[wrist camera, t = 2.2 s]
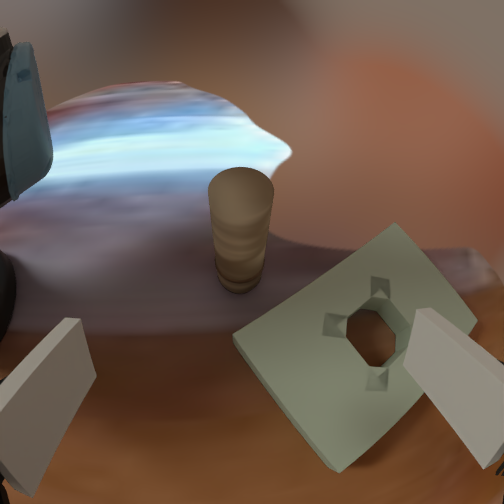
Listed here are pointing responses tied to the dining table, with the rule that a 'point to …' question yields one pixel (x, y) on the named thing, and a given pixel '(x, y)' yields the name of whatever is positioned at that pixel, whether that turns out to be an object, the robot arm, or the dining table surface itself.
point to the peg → (240, 225)
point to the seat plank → (348, 346)
